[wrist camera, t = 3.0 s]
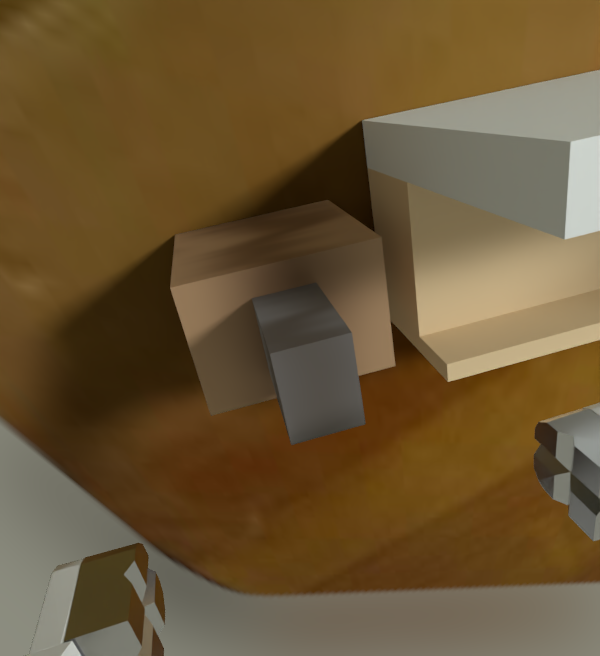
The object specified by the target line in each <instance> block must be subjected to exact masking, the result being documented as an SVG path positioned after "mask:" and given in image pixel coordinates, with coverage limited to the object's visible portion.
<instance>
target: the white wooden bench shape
mask: <svg viewBox="0 0 600 656" xmlns="http://www.w3.org/2000/svg"><path fill="white" fill-rule="evenodd" d="M362 125H363V133H364V142H365V151H366V160H367V169H368V177H369V186H370V195H371V204H372V213H373V221H374V230H375V233H376V234H378V235H379V236H381V237H382V246H383V256H384V265H385V274H386V283H387V293H388V302H389V311H390V320H391V321H392V322H393V324H394V325H395V326H396V327H397V328H398V329H399V330H400V331H401V332H402V333H403V334H404V335H405V336H406V337H407V339H408V340H409V341H410V342H411V343H412V344H413V345H414V346H415V347H416V348H417V349H418V350H419V351H420V352H421V354H422V355H423V356H424V357H425V358H426V359H427V360H428V361H429V362H430V363H431V364H432V365H433V366H434V367H435V369H436V370H437V371H438V372H439V373H440V374H441V375H442V376H443V377H444V378H445V379H446V380H447V381H448V382H450V381H453V380H457V379H460V378H464V377H468V376H471V375H475V374H478V373H482V372H486V371H489V370H493V369H496V368H500V367H504V366H507V365H511V364H514V363H518V362H522V361H525V360H529V359H532V358H536V357H540V356H543V355H547V354H550V353H554V352H558V351H561V350H565V349H568V348H572V347H576V346H579V345H583V344H586V343H590V342H594V341H597V340H600V70H596V71H592V72H587V73H582V74H578V75H573V76H568V77H564V78H559V79H554V80H549V81H545V82H540V83H535V84H531V85H526V86H521V87H517V88H512V89H507V90H502V91H498V92H493V93H488V94H484V95H479V96H474V97H470V98H465V99H460V100H455V101H451V102H446V103H441V104H437V105H432V106H427V107H423V108H418V109H413V110H408V111H404V112H399V113H394V114H390V115H385V116H380V117H376V118H371V119H366V120H362Z"/></svg>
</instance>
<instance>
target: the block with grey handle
mask: <svg viewBox="0 0 600 656" xmlns="http://www.w3.org/2000/svg"><path fill="white" fill-rule="evenodd" d="M170 289H171V292H172V295H173V299H174V302H175V305H176V308H177V311H178V314H179V317H180V320H181V324H182V327H183V330H184V333H185V336H186V339H187V342H188V345H189V349H190V352H191V355H192V358H193V361H194V364H195V367H196V370H197V374H198V377H199V380H200V383H201V386H202V389H203V392H204V395H205V399H206V402H207V405H208V408H209V411H210V414H211V416H212V415H215V414H219V413H223V412H227V411H230V410H234V409H238V408H241V407H245V406H249V405H252V404H256V403H260V402H264V401H267V400H271V399H275V398H277V399H278V402H279V405H280V409H281V412H282V415H283V419H284V422H285V425H286V429H287V432H288V435H289V438H290V442H291V445H293V444H297V443H300V442H304V441H307V440H311V439H314V438H318V437H321V436H325V435H328V434H332V433H336V432H339V431H343V430H346V429H350V428H353V427H357V426H360V425H364V424H365V417H364V411H363V404H362V397H361V390H360V384H359V377H358V376H360V375H363V374H367V373H371V372H375V371H378V370H382V369H386V368H389V367H393V366H395V358H394V348H393V339H392V330H391V321H390V311H389V302H388V293H387V283H386V274H385V265H384V256H383V246H382V237H381V236H379V235H378V234H376V233H375V232H374V231H372V230H371V229H369V228H368V227H366V226H365V225H363V224H362V223H361V222H359V221H358V220H356V219H355V218H353V217H352V216H351V215H349V214H348V213H346V212H345V211H343V210H342V209H341V208H339V207H338V206H336V205H335V204H333V203H332V202H330V201H329V200H324V201H320V202H315V203H311V204H307V205H302V206H298V207H294V208H289V209H285V210H280V211H276V212H272V213H267V214H263V215H259V216H254V217H250V218H245V219H241V220H237V221H232V222H228V223H224V224H219V225H215V226H211V227H206V228H202V229H197V230H193V231H189V232H184V233H180V234H176V235H175V241H174V252H173V262H172V273H171V283H170Z"/></svg>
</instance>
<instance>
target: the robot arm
mask: <svg viewBox="0 0 600 656" xmlns="http://www.w3.org/2000/svg"><path fill="white" fill-rule="evenodd" d="M535 439H536V440H537V441H538V442H539V443H540V444H541V445H540V446H539V448H538V449H537V451H536V452H535V454H534V469H535V472H536V475H537V478H538V480H539V482H540V484H541V485H542V487H543V488H544V490H545V491H546V492H547V493H548V494H549V495H550V496H551V497H552V499H554V500H556V501H559V502H561V503H564V504H566V505H568V514H569V516H570V517H571V519H572V520H573V521H574V522H575V523H576V524H577V525H578V526H579V527H580V528H581V529H582V530H583V531H584V532H585V533H586V534H587V535H588V536H589V537H590V538H591V539H592V540H593V541H596V540H599V539H600V403H597V404H594V405H591V406H588V407H585V408H582V409H579V410H575V411H572V412H569V413H566V414H563V415H559V416H556V417H553V418H550V419H547V420H543V421H540V422H538V424H537V426H536V428H535ZM164 625H165V606H164V598H163V591H162V588H161V584H160V581H159V578H158V576H157V574H156V572H155V571H152V570H150V569H148V554H147V552H146V550H145V548H144V546H143V544H141V543H136V544H133V545H129V546H126V547H122V548H118V549H114V550H111V551H107V552H104V553H100V554H97V555H93V556H90V557H86V558H84V559H81V560H77V561H74V562H70V563H66V564H62V565H58V566H57V567H56V569H55V570H54V571H53V572H52V574H51V577H50V581H49V584H48V588H47V591H46V595H45V598H44V602H43V606H42V609H41V613H40V616H39V620H38V624H37V627H36V631H35V634H34V637H33V641H32V645H31V648H30V652H29V654H28V655H25V656H164V648H163V646H162V644H161V641H160V639H159V637H158V635H159V633H160V632H161V630H162V628H163V627H164Z"/></svg>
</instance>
